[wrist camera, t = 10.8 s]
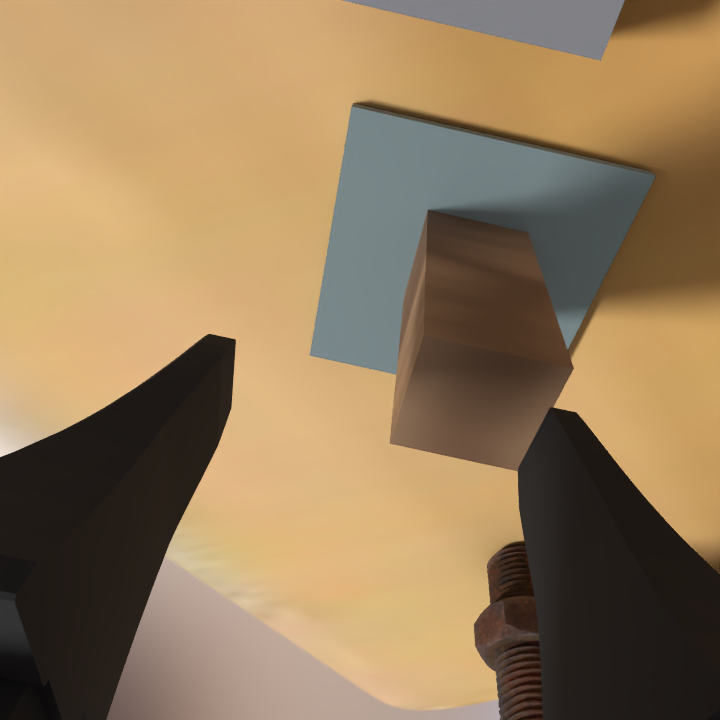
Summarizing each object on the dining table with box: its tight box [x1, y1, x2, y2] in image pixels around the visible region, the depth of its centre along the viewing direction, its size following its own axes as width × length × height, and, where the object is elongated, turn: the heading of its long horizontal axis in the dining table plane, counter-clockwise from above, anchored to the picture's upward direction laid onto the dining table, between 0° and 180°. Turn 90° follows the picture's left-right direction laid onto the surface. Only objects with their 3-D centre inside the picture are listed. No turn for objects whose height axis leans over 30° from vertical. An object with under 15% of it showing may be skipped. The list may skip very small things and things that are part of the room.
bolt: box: [474, 546, 543, 720], centre depth 25 cm, size 6×5×15 cm
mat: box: [310, 103, 656, 374], centre depth 21 cm, size 10×10×1 cm
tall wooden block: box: [390, 210, 574, 471], centre depth 17 cm, size 4×4×8 cm
